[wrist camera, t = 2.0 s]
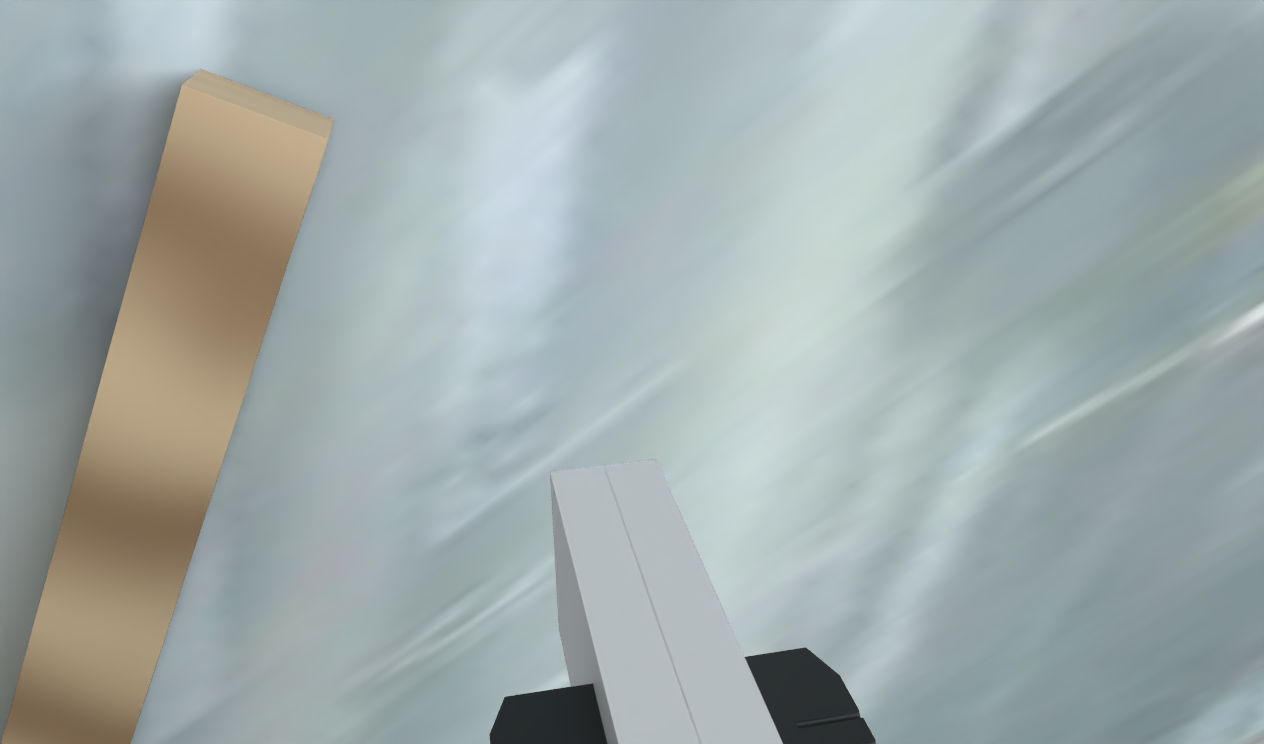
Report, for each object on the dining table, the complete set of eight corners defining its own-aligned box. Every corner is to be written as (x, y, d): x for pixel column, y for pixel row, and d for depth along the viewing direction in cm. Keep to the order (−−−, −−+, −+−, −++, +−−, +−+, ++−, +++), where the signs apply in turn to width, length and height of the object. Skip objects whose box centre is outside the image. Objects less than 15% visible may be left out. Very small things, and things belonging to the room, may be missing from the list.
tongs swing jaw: (109, 805, 30) (89, 867, 28) (-1, 790, 29) (-30, 854, 27) (334, 119, 23) (328, 139, 21) (200, 69, 22) (181, 84, 20)
